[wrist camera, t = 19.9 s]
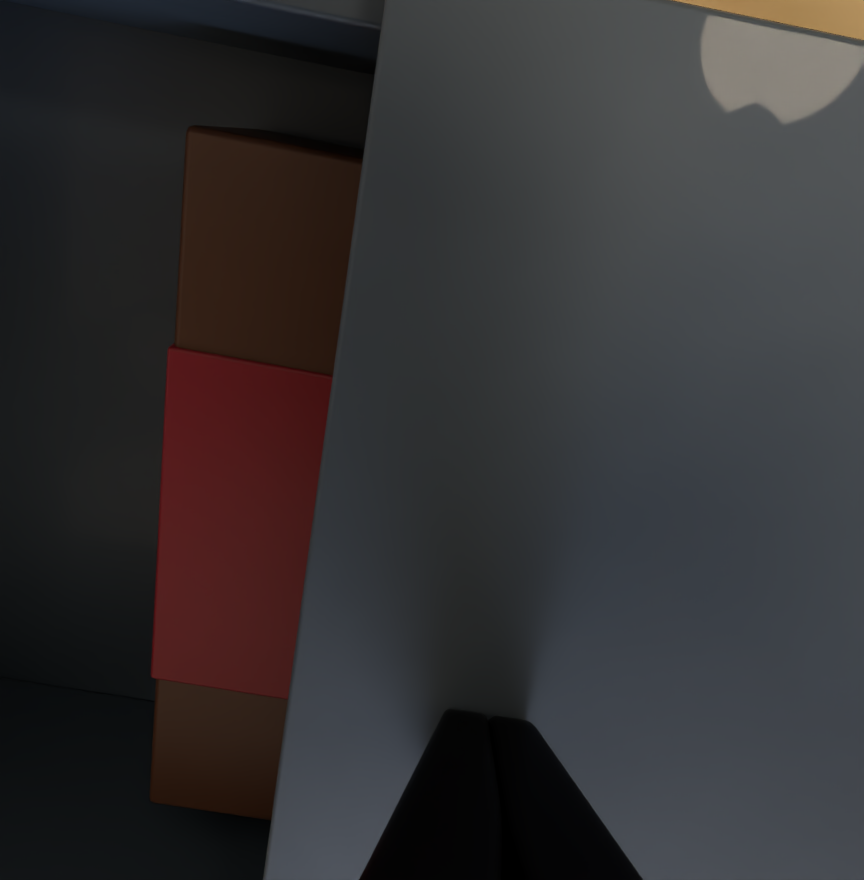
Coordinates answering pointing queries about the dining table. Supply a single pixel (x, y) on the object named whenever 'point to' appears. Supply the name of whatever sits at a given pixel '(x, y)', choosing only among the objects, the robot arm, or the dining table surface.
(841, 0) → the dining table surface
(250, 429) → the chocolate bar
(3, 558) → the trash box
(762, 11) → the dining table surface
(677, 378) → the flap
